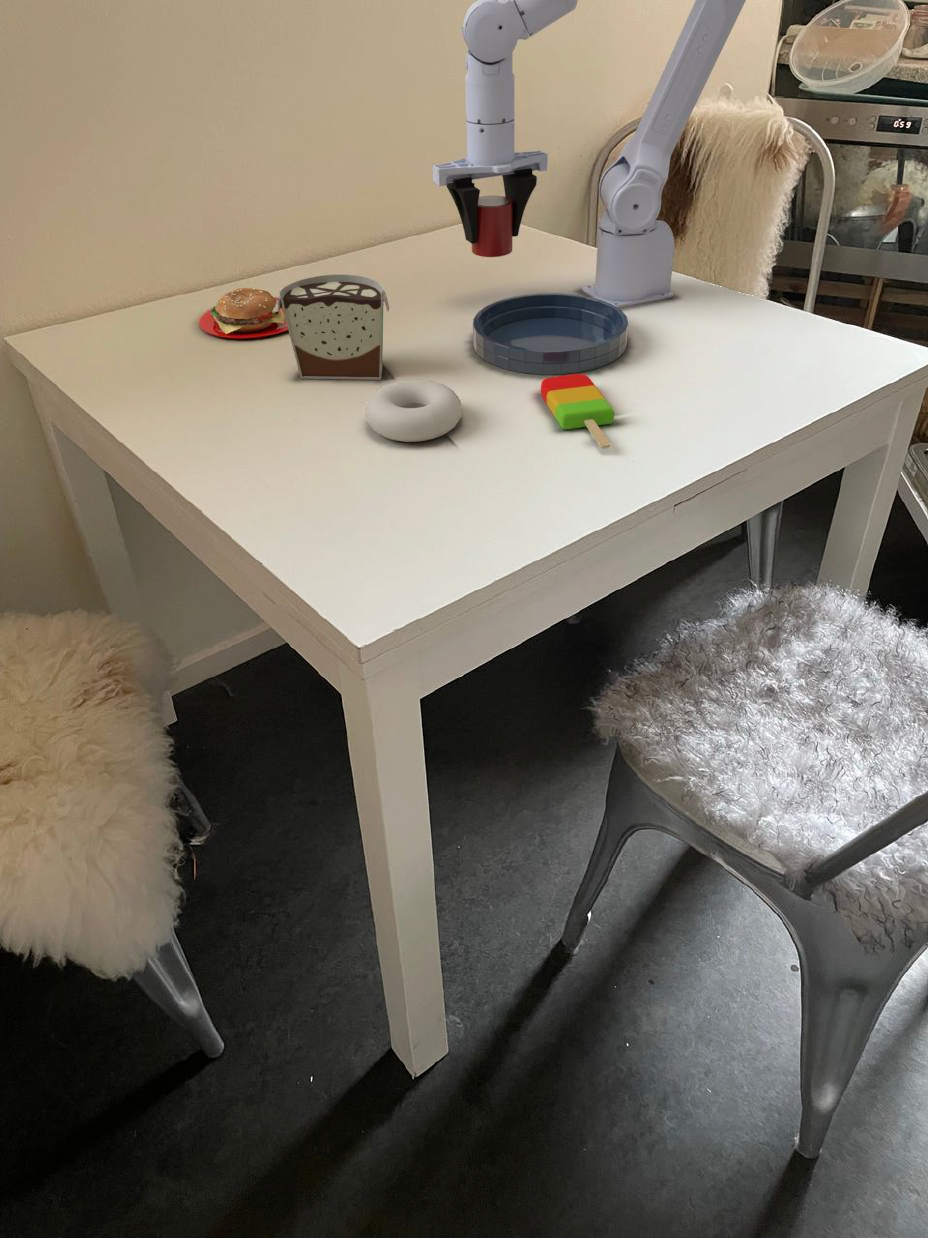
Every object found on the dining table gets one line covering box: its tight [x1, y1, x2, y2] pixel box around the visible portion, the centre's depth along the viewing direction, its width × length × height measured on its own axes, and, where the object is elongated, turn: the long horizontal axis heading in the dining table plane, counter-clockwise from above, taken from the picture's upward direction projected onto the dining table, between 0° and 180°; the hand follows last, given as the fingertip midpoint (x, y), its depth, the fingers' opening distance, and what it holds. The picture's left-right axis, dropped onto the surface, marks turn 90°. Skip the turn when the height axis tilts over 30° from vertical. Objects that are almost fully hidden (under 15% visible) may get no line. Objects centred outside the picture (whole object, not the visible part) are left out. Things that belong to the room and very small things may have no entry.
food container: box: [277, 273, 390, 381], centre depth 109 cm, size 12×6×10 cm, turn 84°
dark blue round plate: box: [472, 292, 629, 376], centre depth 114 cm, size 18×18×3 cm
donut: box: [365, 379, 463, 443], centre depth 99 cm, size 10×4×10 cm
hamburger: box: [198, 286, 289, 339], centre depth 123 cm, size 14×14×6 cm
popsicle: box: [540, 373, 615, 449], centre depth 99 cm, size 6×15×2 cm, turn 12°
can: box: [471, 195, 513, 258], centre depth 121 cm, size 5×5×6 cm
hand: (491, 237), depth 122 cm, fingers closed on can, 5 cm apart
